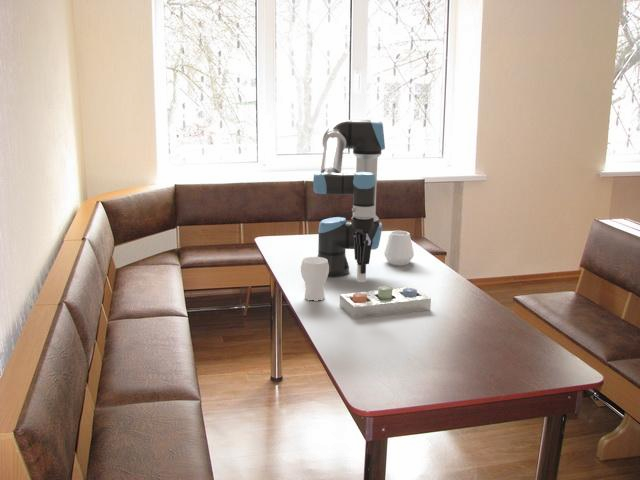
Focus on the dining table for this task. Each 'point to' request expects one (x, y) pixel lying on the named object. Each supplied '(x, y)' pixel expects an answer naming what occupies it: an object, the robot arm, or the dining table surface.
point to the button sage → (385, 293)
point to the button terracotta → (359, 298)
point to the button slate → (409, 292)
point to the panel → (384, 304)
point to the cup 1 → (314, 277)
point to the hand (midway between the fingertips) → (361, 281)
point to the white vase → (399, 248)
